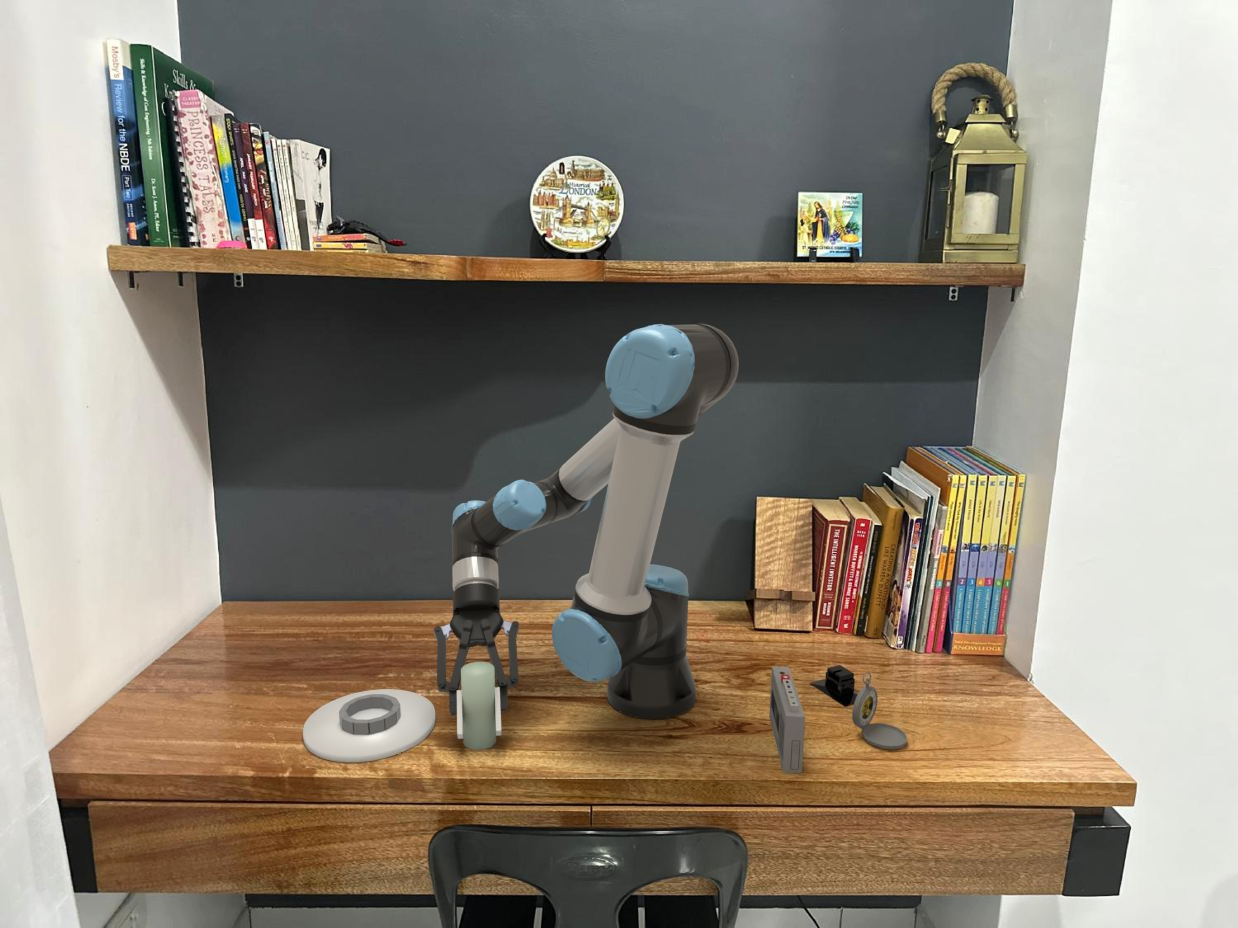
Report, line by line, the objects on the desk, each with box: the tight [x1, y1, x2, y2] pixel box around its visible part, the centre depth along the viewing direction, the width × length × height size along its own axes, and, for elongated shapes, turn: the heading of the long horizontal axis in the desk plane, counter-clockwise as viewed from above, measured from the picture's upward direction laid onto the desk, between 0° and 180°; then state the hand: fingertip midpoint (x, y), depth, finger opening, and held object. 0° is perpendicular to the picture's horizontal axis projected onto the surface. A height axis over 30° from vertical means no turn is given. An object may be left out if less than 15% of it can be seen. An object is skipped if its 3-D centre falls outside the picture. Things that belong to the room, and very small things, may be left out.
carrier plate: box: [302, 688, 436, 764], centre depth 126 cm, size 20×20×3 cm
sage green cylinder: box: [460, 661, 497, 751], centre depth 122 cm, size 5×5×12 cm
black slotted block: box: [809, 664, 859, 708], centre depth 139 cm, size 12×7×5 cm, turn 26°
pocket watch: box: [851, 671, 908, 750], centre depth 124 cm, size 8×8×10 cm
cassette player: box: [768, 665, 806, 774], centre depth 122 cm, size 16×3×10 cm, turn 177°
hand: (479, 734), depth 119 cm, fingers closed on sage green cylinder, 5 cm apart
